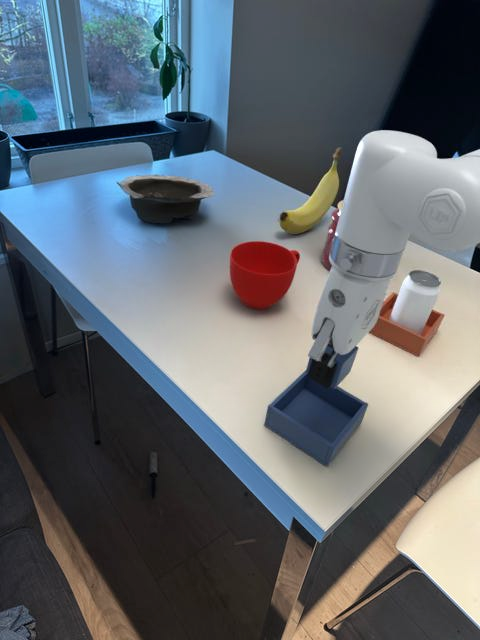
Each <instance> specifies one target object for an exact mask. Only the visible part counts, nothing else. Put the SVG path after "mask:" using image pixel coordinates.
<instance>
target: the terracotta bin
mask: <svg viewBox="0 0 480 640" xmlns="http://www.w3.org/2000/svg"><path fill="white" fill-rule="evenodd" d="M398 294H399V293H396V292H394V291H393V292H392V293H391V294H390V295H389V296H388V297H386V299H384V301H383V305H382V308H381V311H380V314H379V317H378V320H377V322H376V324H375V326H374V327H373V328H372V329H371V330H370V332H369V333H368V334H371V335H374V336H376V337H378V338H380V339H382V340H384V341H385V342H388V343H390V344H392V345H394V346H395V347H397V348H400V349H402V350H403V351H406V352H408V353H410V354H412V355H414V356H416V357H420V355H421V354H422V352H423V351H424V350H425V348H426V347H427V346H428V344H429V343H430V342H431V340H432V339H433V337H434V336H435V335H436V333H437V332H438V330H439V328H440V326H441V324H442V322H443V320H444V317H445V316H446V315H445V314H444V313H442V312H439V311H437V310H435V309H432V311H431V313H430V315H429V318H428V320H427V322H426V324H425V327H424V329H423V331H422V333H421V335H419V334H417V333H415V332H413V331H411V330H408V329H406V328H404V327H402V326H400V325H398V324H396V323H394V322H391V321H389V318H390V315H391V313H392V310H393V307H394V305H395V302H396V299H397V297H398Z"/></svg>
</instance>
